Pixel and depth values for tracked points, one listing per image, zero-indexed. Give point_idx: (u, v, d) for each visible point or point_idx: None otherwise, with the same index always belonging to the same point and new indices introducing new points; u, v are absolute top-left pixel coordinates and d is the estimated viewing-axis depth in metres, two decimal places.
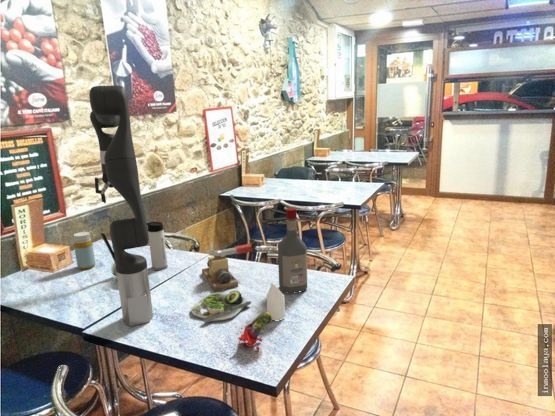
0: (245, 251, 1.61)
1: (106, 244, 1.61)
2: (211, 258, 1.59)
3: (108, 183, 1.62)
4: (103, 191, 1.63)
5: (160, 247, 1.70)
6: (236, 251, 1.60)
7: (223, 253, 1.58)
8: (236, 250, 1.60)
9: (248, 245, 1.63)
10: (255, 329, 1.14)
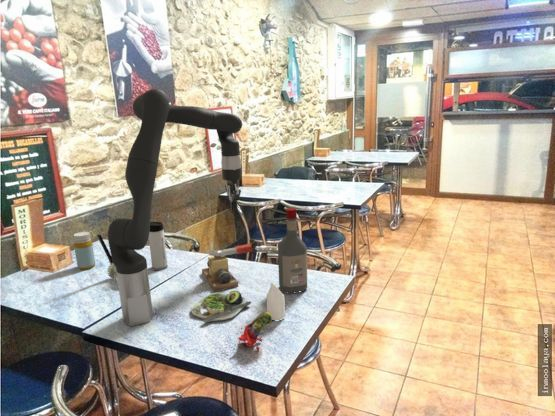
0: (245, 251, 1.61)
1: (102, 245, 1.59)
2: (211, 258, 1.59)
3: (227, 188, 1.63)
4: (229, 197, 1.64)
5: (160, 247, 1.70)
6: (236, 251, 1.60)
7: (223, 253, 1.58)
8: (236, 250, 1.60)
9: (248, 245, 1.63)
10: (255, 329, 1.14)
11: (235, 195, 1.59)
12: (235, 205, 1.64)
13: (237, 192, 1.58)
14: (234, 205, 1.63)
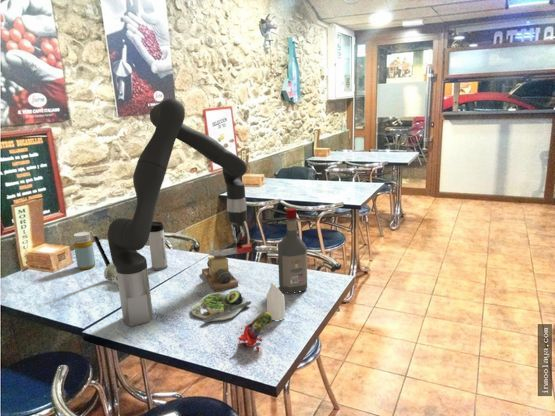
0: (245, 251, 1.61)
1: (99, 247, 1.57)
2: (211, 258, 1.59)
3: (232, 229, 1.64)
4: (235, 238, 1.65)
5: (160, 247, 1.70)
6: (236, 251, 1.60)
7: (223, 253, 1.58)
8: (236, 250, 1.60)
9: (248, 245, 1.63)
10: (255, 329, 1.14)
11: (240, 237, 1.59)
12: None
13: (242, 235, 1.58)
14: None
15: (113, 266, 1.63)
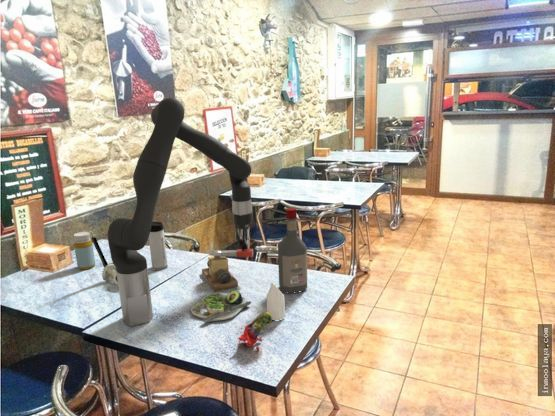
0: (245, 255, 1.57)
1: (97, 248, 1.56)
2: (211, 258, 1.59)
3: None
4: None
5: (160, 247, 1.70)
6: (235, 254, 1.57)
7: (222, 254, 1.57)
8: (235, 253, 1.57)
9: (250, 250, 1.58)
10: (255, 329, 1.14)
11: (240, 241, 1.55)
12: None
13: (240, 238, 1.54)
14: None
15: (111, 267, 1.62)
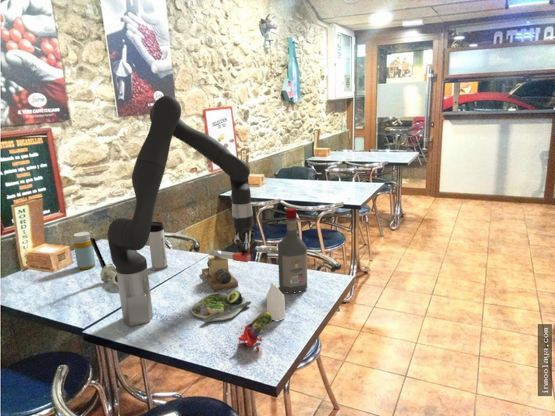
0: (240, 260, 1.53)
1: (95, 249, 1.55)
2: (211, 258, 1.59)
3: None
4: None
5: (160, 247, 1.70)
6: (232, 257, 1.54)
7: (220, 255, 1.56)
8: (232, 256, 1.54)
9: (246, 255, 1.53)
10: (255, 329, 1.14)
11: (235, 244, 1.52)
12: None
13: (234, 242, 1.51)
14: None
15: (109, 268, 1.61)
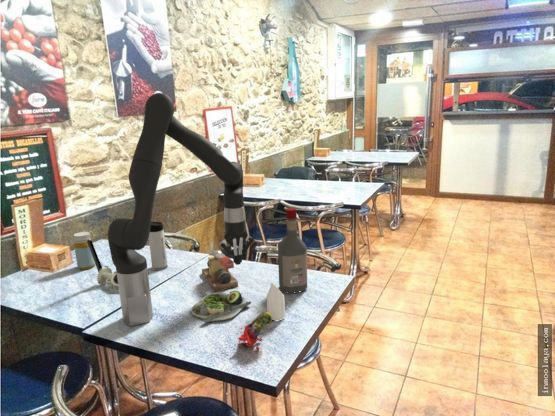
0: (223, 265, 1.48)
1: (93, 251, 1.53)
2: (211, 258, 1.59)
3: None
4: None
5: (160, 247, 1.70)
6: (220, 260, 1.51)
7: (216, 255, 1.56)
8: (220, 259, 1.51)
9: (228, 261, 1.47)
10: (255, 329, 1.14)
11: None
12: (233, 259, 1.51)
13: None
14: (233, 258, 1.51)
15: (106, 270, 1.59)
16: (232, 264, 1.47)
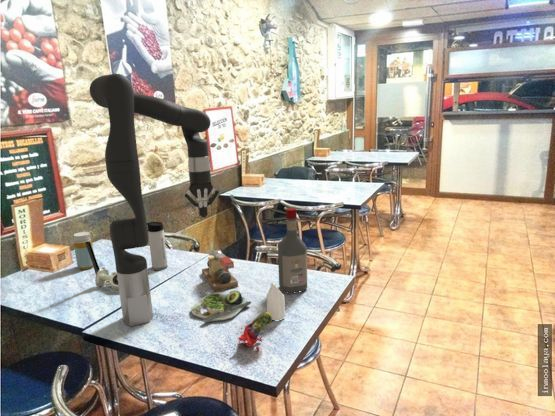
0: (223, 265, 1.48)
1: (91, 253, 1.52)
2: (211, 258, 1.59)
3: None
4: None
5: (160, 247, 1.70)
6: (220, 260, 1.51)
7: (216, 255, 1.56)
8: (220, 259, 1.51)
9: (228, 261, 1.47)
10: (255, 329, 1.14)
11: None
12: (199, 211, 1.49)
13: None
14: (199, 211, 1.50)
15: (103, 272, 1.58)
16: (232, 264, 1.47)
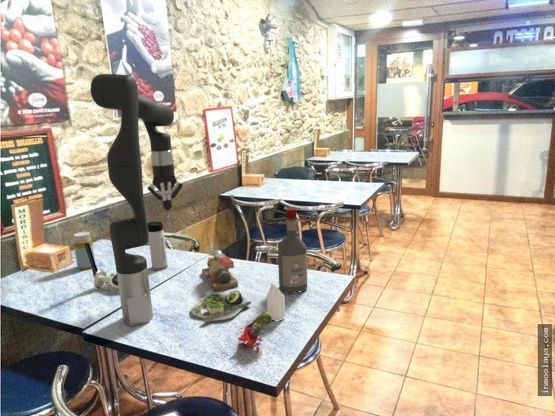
0: (223, 265, 1.48)
1: (90, 254, 1.50)
2: (211, 258, 1.59)
3: None
4: None
5: (160, 247, 1.70)
6: (220, 260, 1.51)
7: (216, 255, 1.56)
8: (220, 259, 1.51)
9: (228, 261, 1.47)
10: (255, 329, 1.14)
11: None
12: (163, 204, 1.51)
13: (148, 189, 1.48)
14: (163, 204, 1.52)
15: (101, 273, 1.57)
16: (232, 264, 1.47)
